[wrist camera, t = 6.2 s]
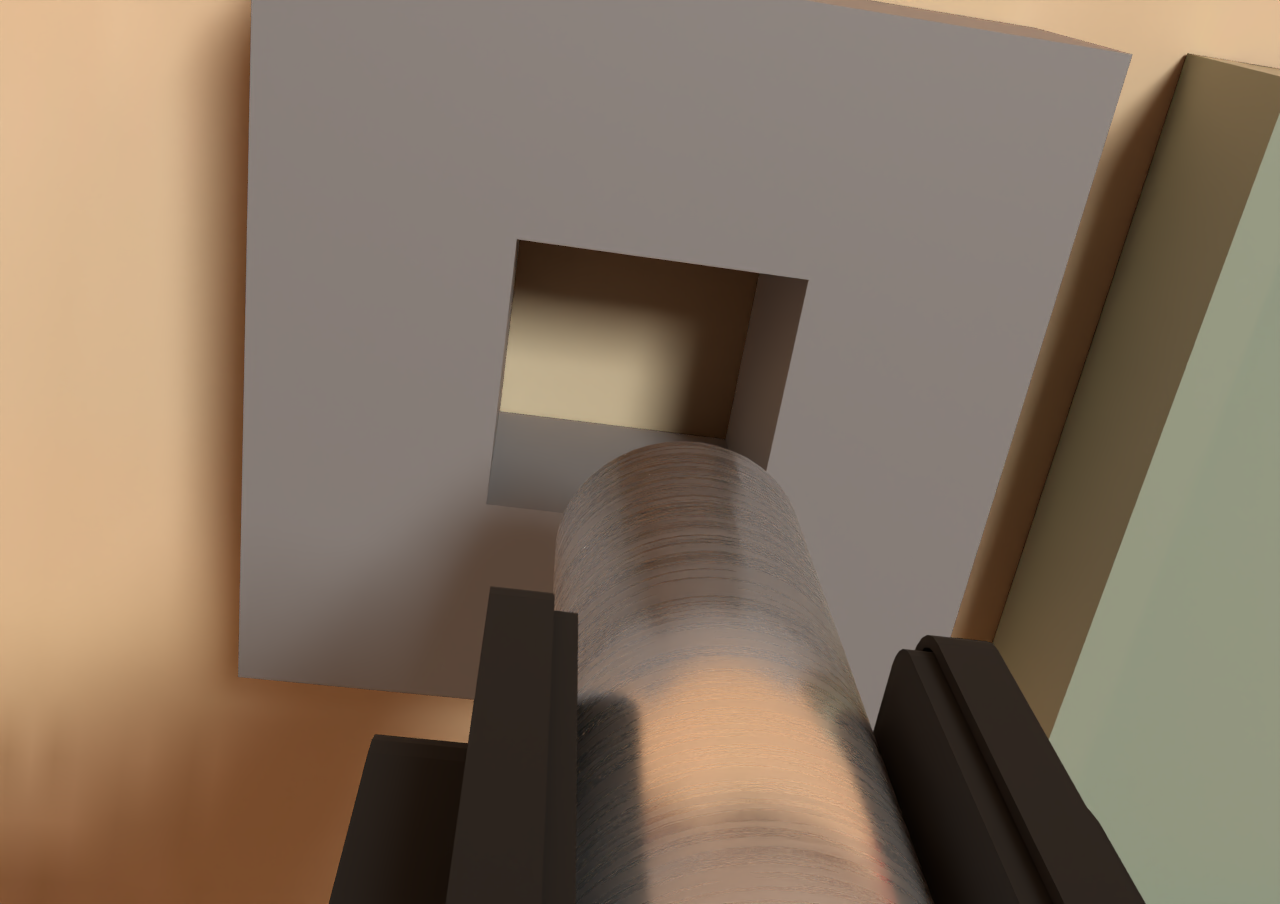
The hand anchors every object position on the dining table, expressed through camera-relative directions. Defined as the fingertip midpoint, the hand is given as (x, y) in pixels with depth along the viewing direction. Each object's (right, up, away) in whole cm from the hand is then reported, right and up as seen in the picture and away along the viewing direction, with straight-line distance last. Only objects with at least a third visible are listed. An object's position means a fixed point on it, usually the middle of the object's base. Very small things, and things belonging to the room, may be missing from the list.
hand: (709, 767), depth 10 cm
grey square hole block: (-1, +5, +10) cm, 11 cm away
